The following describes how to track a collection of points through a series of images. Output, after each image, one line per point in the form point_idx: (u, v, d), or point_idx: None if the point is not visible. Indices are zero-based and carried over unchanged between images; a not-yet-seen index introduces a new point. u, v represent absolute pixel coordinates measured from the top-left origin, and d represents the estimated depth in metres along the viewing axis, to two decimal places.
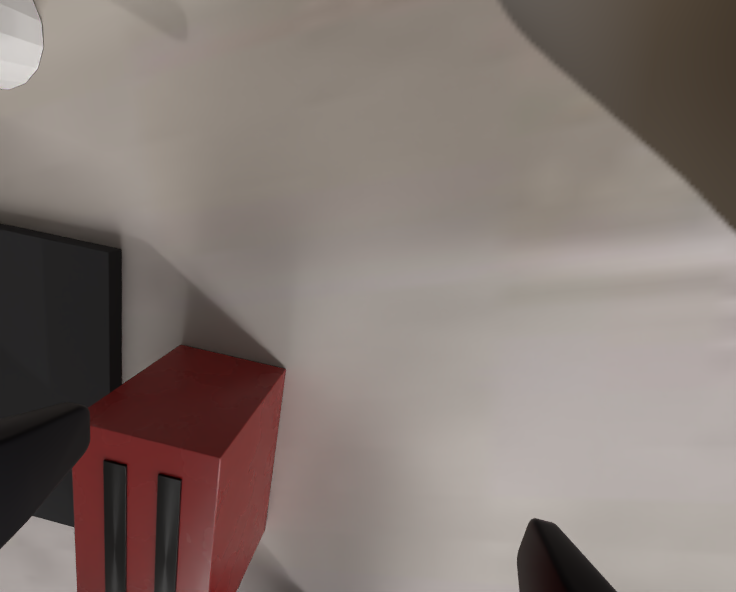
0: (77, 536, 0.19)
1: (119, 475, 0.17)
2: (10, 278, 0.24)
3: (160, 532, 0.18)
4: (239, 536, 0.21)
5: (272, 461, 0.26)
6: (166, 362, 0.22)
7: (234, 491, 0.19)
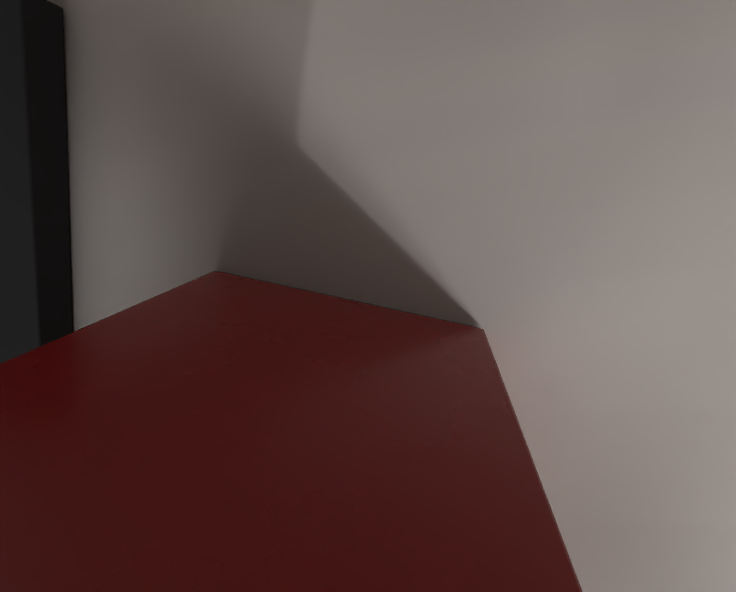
0: None
1: None
2: None
3: None
4: None
5: None
6: (183, 300, 0.08)
7: None
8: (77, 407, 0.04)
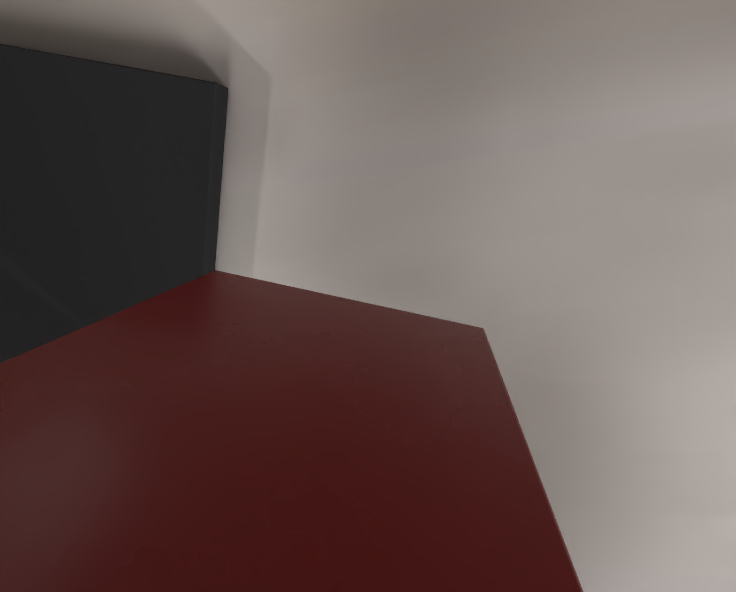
0: None
1: None
2: (66, 133, 0.16)
3: None
4: None
5: None
6: (184, 300, 0.08)
7: None
8: (78, 405, 0.04)
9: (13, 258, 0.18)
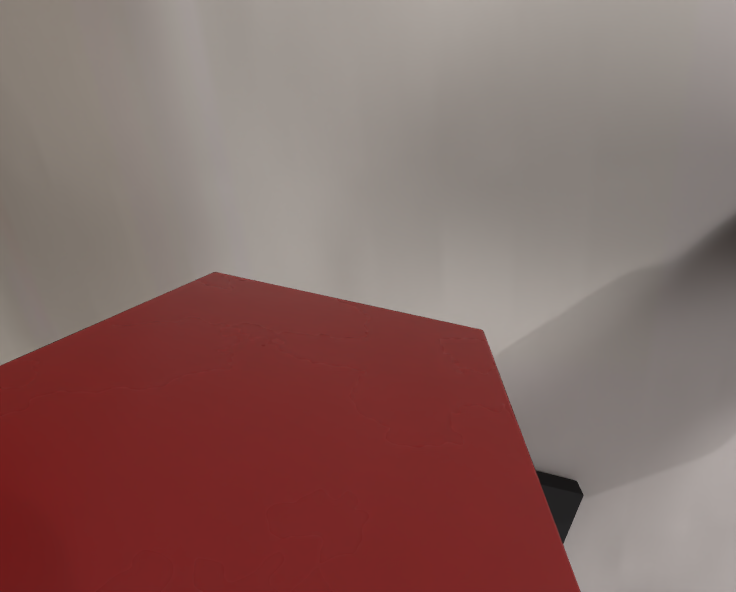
0: None
1: None
2: None
3: None
4: None
5: None
6: (183, 302, 0.08)
7: None
8: (77, 409, 0.04)
9: None
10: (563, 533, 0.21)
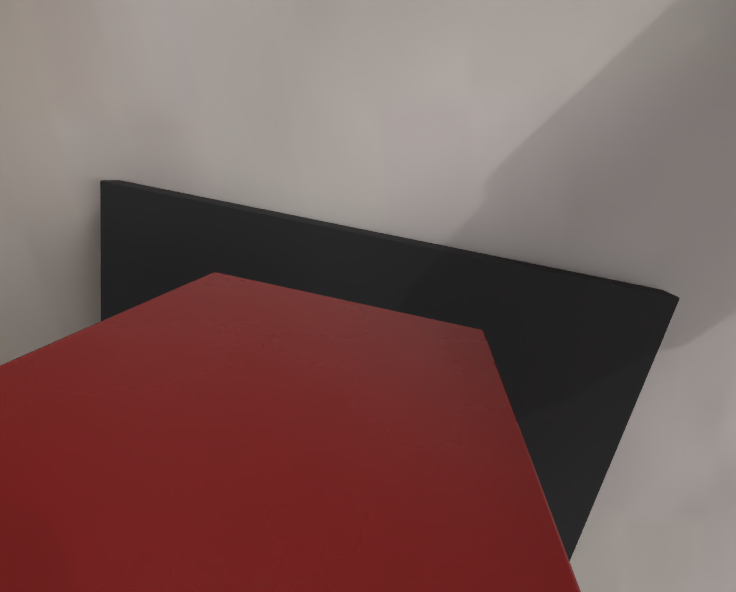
0: None
1: None
2: None
3: None
4: None
5: None
6: (182, 302, 0.08)
7: None
8: (76, 410, 0.04)
9: None
10: (645, 365, 0.14)
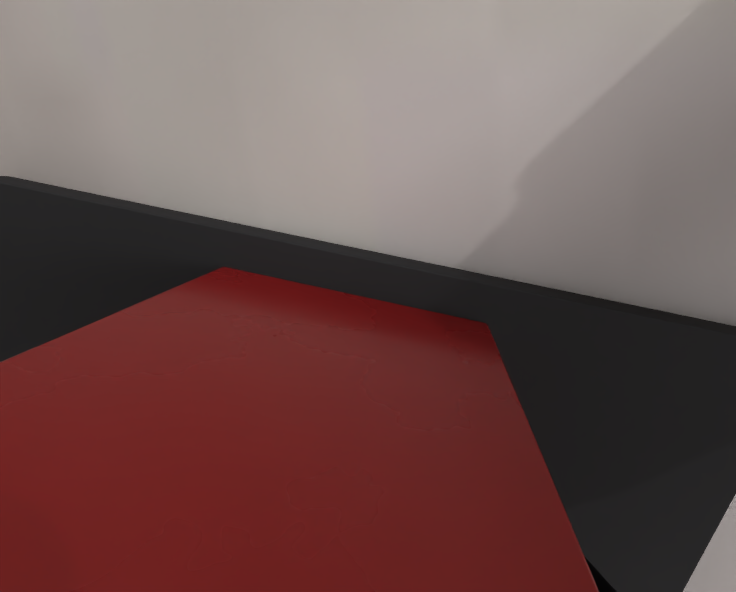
0: None
1: None
2: None
3: None
4: None
5: None
6: (195, 294, 0.08)
7: None
8: (101, 392, 0.05)
9: None
10: None
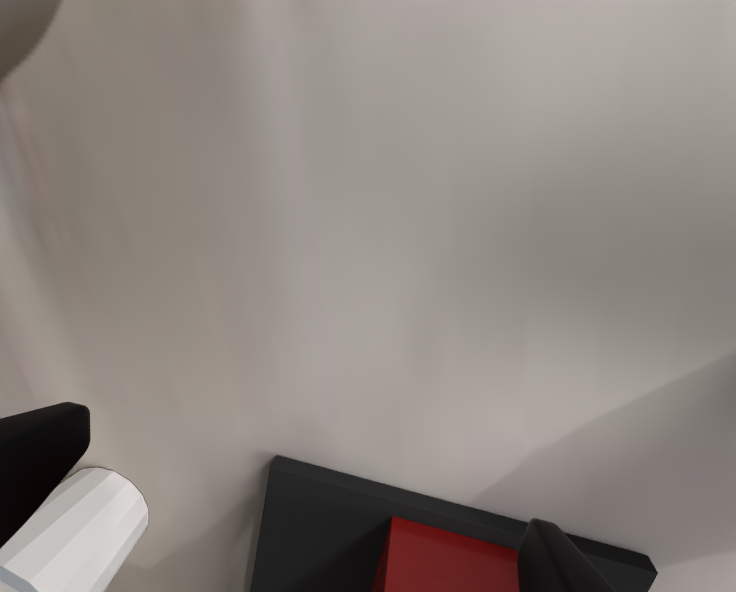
0: None
1: None
2: (303, 566, 0.23)
3: None
4: None
5: None
6: (399, 555, 0.19)
7: None
8: None
9: None
10: None
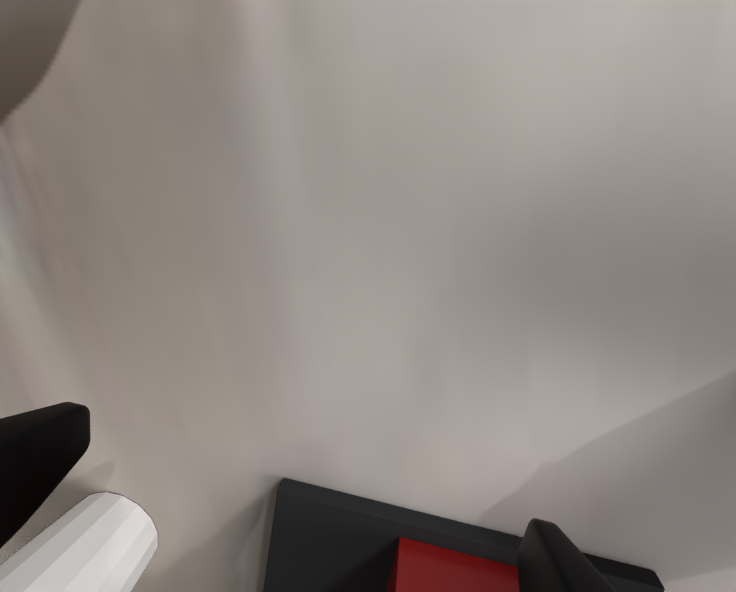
0: None
1: None
2: (312, 587, 0.24)
3: None
4: None
5: None
6: (407, 577, 0.20)
7: None
8: None
9: None
10: None
